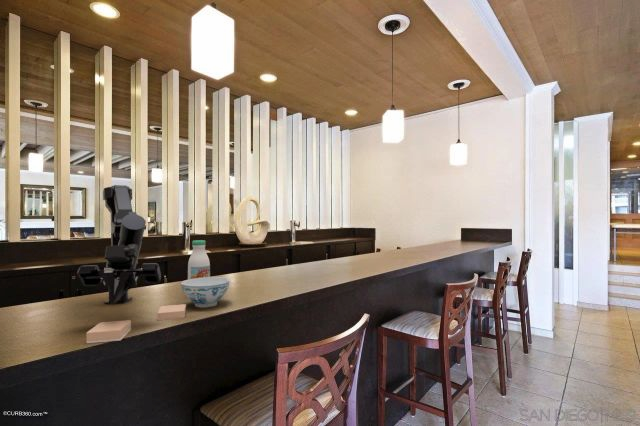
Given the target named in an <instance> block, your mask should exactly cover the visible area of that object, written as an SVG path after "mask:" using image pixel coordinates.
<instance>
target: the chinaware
mask: <svg viewBox="0 0 640 426" xmlns="http://www.w3.org/2000/svg"><path fill="white" fill-rule="evenodd" d="M230 282H231V280H230V278H227V277H224V276H223V277H221V276H220V277H219V276H210V277H204V278H195V279H189V280H188V279H186V280H183V281H182V282H181V284H180V286H181V288H182V289H181V290H182V291H183V294H184V296H185V297H186V298H187V299H188V300H189V301H190V302H191V303H193V304H194V306H195V307H196V308H209V307H210V308H211V307H215V306H217V304H218V302H219V301H220V300H222V298H223V297H224V296H225V294H226V293H227V291H228V288H229V286H230Z"/></svg>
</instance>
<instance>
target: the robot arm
mask: <svg viewBox="0 0 640 426" xmlns="http://www.w3.org/2000/svg"><path fill="white" fill-rule="evenodd" d="M132 200H133V188H131V187H130V186H127V185H123V184H122V185H119V184H118V185H117V184H114V185H111V186H107V187H104V188H103V190H102V201H104V205H105V208H106V209H107V210H108V212H109V213H110V238H111V239H110V241H111V245H107V246H106V247H105V253H104V260H107V262H106V267H105V266H104V269H103V270H101V269H100V267H99V265H98V264H94V265H93V264H92V265H88V264H87V265H80V267H79V268H78V269H77V271H76V275H77V277H78V279H79V280H80V282H81V284H82V286H85V287H97V286H99V285H100V284H102V281H103V285H104V287H105V286H106V288H108V299H107V300H106V301H104V302H103V304H108V305H109V304H125V303H127V302H129V301H131V300H132V299H133V297H130V296H129V290H131V288H133V287H137V285H138V283H137V281H138V279H139V277H145V282H146V284H159V283H160V282H161V279H162V272H161V268H160V264H158V263H157V262H153V263H152V262H149V263H141V266H140V267H141V268H136V267H137V265H138V264H139V261H138V259H139V255H140V251H141V247H142V244H143V237H144V234H145V230H147V225H146V224H147V221H146V219H145V218H144V217H143V216H141V215H139V214H138V213H137V211H133V207H132V202H131V201H132Z"/></svg>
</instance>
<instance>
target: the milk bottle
mask: <svg viewBox="0 0 640 426" xmlns="http://www.w3.org/2000/svg"><path fill="white" fill-rule="evenodd" d="M206 242H207V241H206V240H202V239H200V240H197V239H196V240H192V242H191V244H192V252H191V255H190V257H189V259H188V261H187V262H188V263H187V280H189V279H195V278H204V277H211V264H210V263H211V262H210V258H209V256H208V254H207V251H206Z"/></svg>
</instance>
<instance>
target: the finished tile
mask: <svg viewBox="0 0 640 426" xmlns="http://www.w3.org/2000/svg"><path fill="white" fill-rule="evenodd" d="M185 313H187V304H186V303H183V304H171V305H162V306H160V307H159V310H158V311H157V321H166V320H175V319H177V320H178V319H184V318H185V317H186V314H185Z"/></svg>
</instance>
